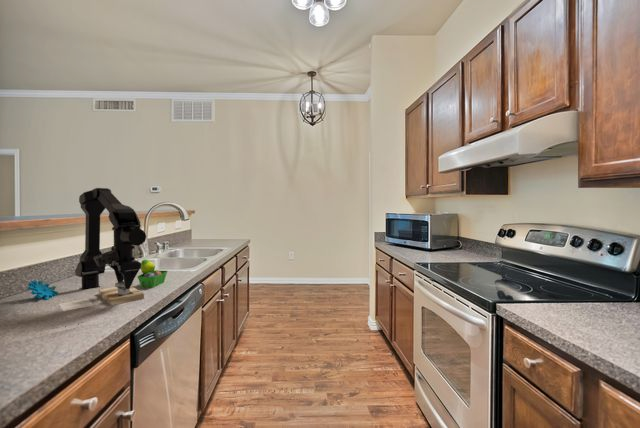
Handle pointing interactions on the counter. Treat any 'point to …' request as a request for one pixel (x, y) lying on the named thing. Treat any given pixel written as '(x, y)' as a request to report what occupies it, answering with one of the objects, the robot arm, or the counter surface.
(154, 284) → the fruit basket
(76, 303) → the tab
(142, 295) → the rail plate
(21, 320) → the counter surface
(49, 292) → the blue spiky lump
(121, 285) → the peg
